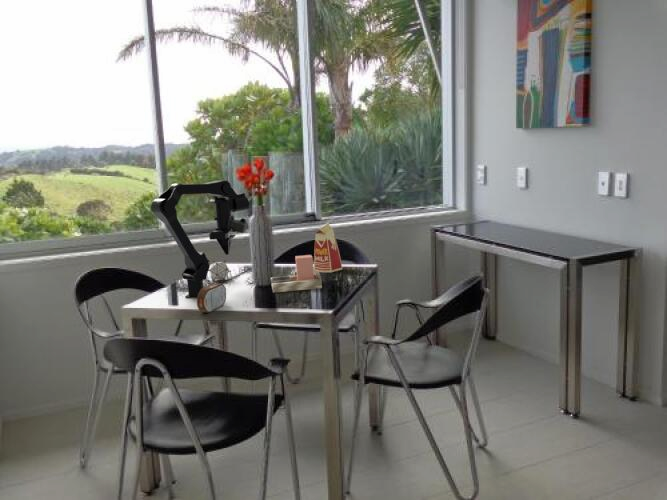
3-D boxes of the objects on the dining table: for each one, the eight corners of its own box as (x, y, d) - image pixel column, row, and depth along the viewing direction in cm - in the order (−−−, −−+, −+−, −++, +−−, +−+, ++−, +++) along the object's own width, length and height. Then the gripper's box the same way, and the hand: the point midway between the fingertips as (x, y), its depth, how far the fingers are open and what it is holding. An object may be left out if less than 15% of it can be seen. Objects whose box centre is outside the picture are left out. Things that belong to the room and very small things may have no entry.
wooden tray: (273, 292, 242) (272, 281, 242) (271, 285, 255) (270, 274, 255) (321, 287, 245) (321, 277, 244) (317, 280, 257) (317, 270, 257)
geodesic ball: (225, 288, 273) (237, 267, 274) (219, 285, 264) (232, 263, 265) (207, 277, 274) (219, 256, 275) (200, 274, 266) (213, 252, 267)
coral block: (298, 284, 247) (296, 258, 246) (297, 282, 252) (295, 256, 251) (314, 283, 248) (312, 257, 246) (312, 280, 253) (311, 254, 251)
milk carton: (326, 267, 283) (323, 220, 279) (343, 269, 277) (340, 221, 274) (312, 271, 276) (309, 223, 272) (329, 273, 270) (326, 224, 267)
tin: (221, 303, 231) (218, 280, 229) (229, 304, 230) (226, 280, 228) (197, 315, 217) (194, 290, 216) (205, 316, 216) (203, 290, 214)
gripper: (236, 216, 240) (239, 258, 243) (251, 209, 258) (254, 249, 261) (206, 217, 242) (211, 259, 245) (223, 211, 260) (227, 250, 263)
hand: (227, 254), depth 253 cm, fingers closed
